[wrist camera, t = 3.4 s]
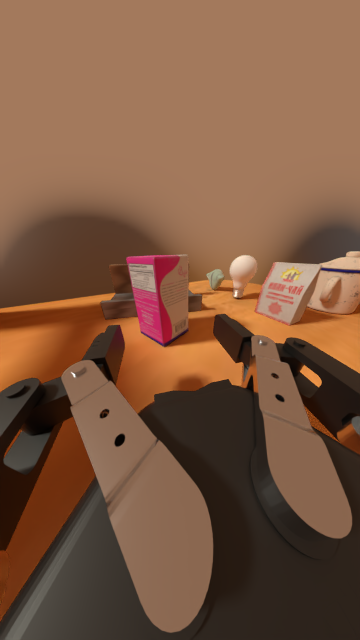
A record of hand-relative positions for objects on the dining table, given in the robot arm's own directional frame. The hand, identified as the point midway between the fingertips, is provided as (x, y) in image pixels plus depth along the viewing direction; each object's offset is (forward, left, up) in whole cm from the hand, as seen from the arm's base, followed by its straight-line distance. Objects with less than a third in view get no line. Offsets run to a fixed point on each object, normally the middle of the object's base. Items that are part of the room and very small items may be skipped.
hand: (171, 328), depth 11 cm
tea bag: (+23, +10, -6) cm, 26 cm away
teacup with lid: (+37, +11, -6) cm, 39 cm away
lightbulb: (+22, +22, -6) cm, 32 cm away
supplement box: (0, +9, -6) cm, 11 cm away
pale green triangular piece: (+20, +32, -6) cm, 38 cm away
